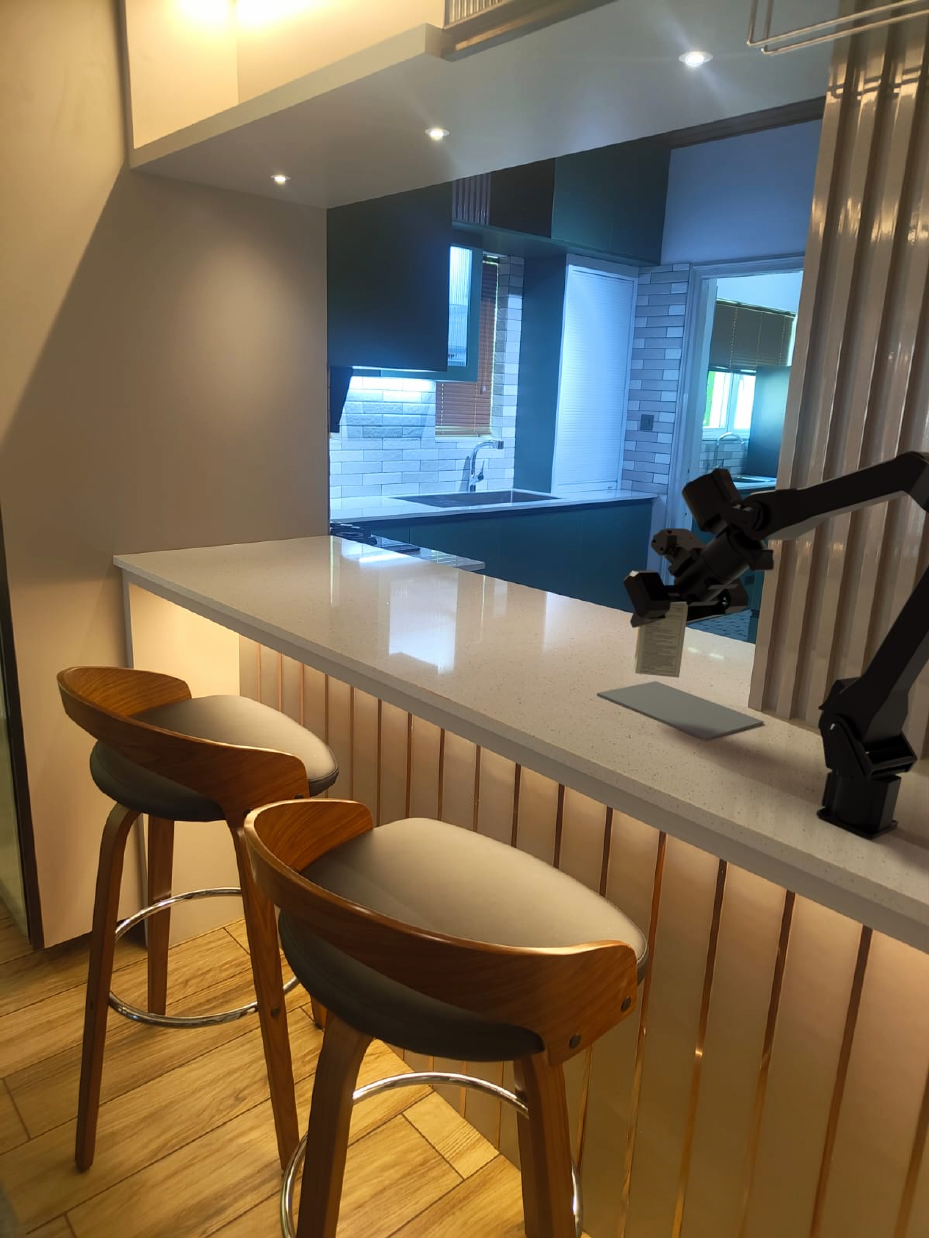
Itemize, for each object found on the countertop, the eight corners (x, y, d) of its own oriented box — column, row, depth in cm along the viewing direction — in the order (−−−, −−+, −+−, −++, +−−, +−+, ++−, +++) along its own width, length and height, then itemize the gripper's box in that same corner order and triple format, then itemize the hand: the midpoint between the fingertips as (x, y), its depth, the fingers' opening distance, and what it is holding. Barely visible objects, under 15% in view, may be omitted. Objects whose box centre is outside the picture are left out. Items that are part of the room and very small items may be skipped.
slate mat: (763, 723, 127) (763, 721, 127) (705, 740, 118) (705, 737, 118) (655, 683, 142) (655, 681, 142) (596, 695, 133) (597, 692, 133)
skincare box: (676, 670, 126) (689, 587, 123) (679, 679, 122) (692, 593, 119) (631, 665, 126) (642, 582, 124) (632, 673, 122) (645, 588, 119)
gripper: (746, 512, 120) (679, 574, 132) (642, 510, 111) (580, 577, 123) (781, 580, 116) (709, 638, 127) (676, 583, 106) (608, 646, 118)
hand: (652, 623), depth 124 cm, fingers closed on skincare box, 7 cm apart
